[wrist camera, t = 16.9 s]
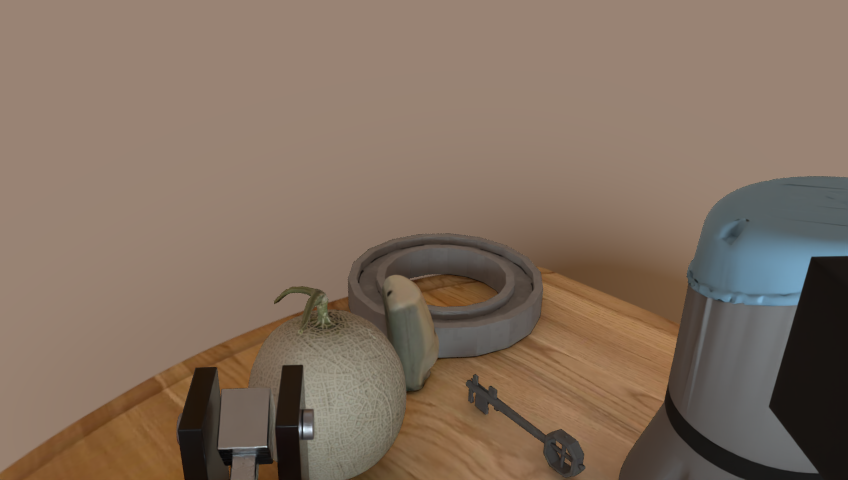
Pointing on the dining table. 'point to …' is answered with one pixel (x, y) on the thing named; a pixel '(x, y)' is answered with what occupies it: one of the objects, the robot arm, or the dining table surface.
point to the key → (533, 431)
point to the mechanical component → (461, 256)
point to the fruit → (338, 385)
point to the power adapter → (410, 329)
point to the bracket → (202, 418)
